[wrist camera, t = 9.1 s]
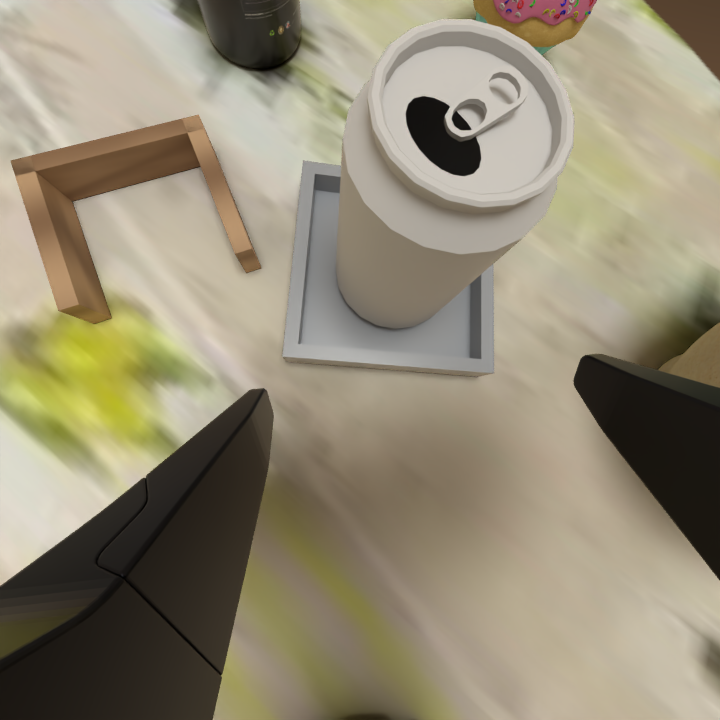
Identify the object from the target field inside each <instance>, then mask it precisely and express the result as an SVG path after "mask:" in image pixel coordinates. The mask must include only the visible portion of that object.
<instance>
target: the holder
mask: <svg viewBox="0 0 720 720" xmlns="http://www.w3.org/2000/svg"><path fill="white" fill-rule="evenodd" d="M11 164H12V167H13V170H14V173H15V176H16V180H17V183H18V186H19V189H20V192H21V195H22V198H23V201H24V205H25V208H26V211H27V214H28V217H29V220H30V223H31V226H32V230H33V233H34V236H35V239H36V242H37V245H38V248H39V251H40V255H41V258H42V261H43V264H44V267H45V270H46V273H47V276H48V280H49V283H50V286H51V289H52V292H53V295H54V298H55V301H56V305H57V308H58V311H60V312H63V313H66V314H69V315H72V316H74V317H77V318H80V319H83V320H85V321H88V322H91V323H94V324H95V323H98V322H101V321H104V320H107V319H110V318H111V315H110V312H109V309H108V306H107V303H106V300H105V297H104V294H103V291H102V288H101V285H100V282H99V279H98V276H97V273H96V270H95V268H94V265H93V262H92V259H91V256H90V253H89V250H88V247H87V244H86V241H85V238H84V235H83V232H82V229H81V226H80V223H79V220H78V217H77V214H76V211H75V208H74V206H73V203H72V201H75V200H78V199H82V198H86V197H89V196H93V195H97V194H100V193H104V192H108V191H111V190H115V189H119V188H122V187H126V186H130V185H133V184H137V183H141V182H144V181H148V180H152V179H156V178H159V177H163V176H167V175H170V174H174V173H178V172H181V171H185V170H189V169H192V168H196V167H200V166H201V168H202V171H203V173H204V176H205V179H206V181H207V184H208V186H209V189H210V191H211V194H212V196H213V199H214V201H215V204H216V207H217V209H218V212H219V214H220V217H221V219H222V222H223V224H224V227H225V229H226V232H227V235H228V237H229V240H230V242H231V245H232V247H233V250H234V252H235V255H236V256H237V258H238V260H239V261H240V263H241V265H242V266H243V268H244V270H245V271H246V273H248V272H250V271H253V270H256V269H259V268H261V266H260V263H259V261H258V258H257V256H256V253H255V251H254V248H253V246H252V243H251V241H250V238H249V236H248V234H247V231H246V229H245V226H244V224H243V221H242V219H241V216H240V214H239V211H238V209H237V206H236V204H235V201H234V199H233V196H232V194H231V191H230V189H229V186H228V184H227V181H226V179H225V176H224V174H223V171H222V169H221V166H220V164H219V161H218V159H217V156H216V154H215V151H214V149H213V146H212V144H211V142H210V140H209V137H208V135H207V133H206V130H205V128H204V126H203V124H202V121H201V119H200V117H199V115H195V116H191V117H187V118H183V119H179V120H175V121H171V122H167V123H163V124H158V125H154V126H150V127H146V128H142V129H138V130H134V131H130V132H126V133H122V134H118V135H114V136H109V137H105V138H101V139H97V140H93V141H89V142H85V143H81V144H77V145H73V146H69V147H64V148H60V149H56V150H52V151H48V152H44V153H40V154H36V155H32V156H28V157H24V158H20V159H15V160H11Z"/></svg>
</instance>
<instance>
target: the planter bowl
mask: <svg viewBox="0 0 720 720" xmlns="http://www.w3.org/2000/svg"><path fill="white" fill-rule="evenodd" d="M658 370H659V371H663V372H666V373H670V374H673V375H677V376H680V377H684V378H687V379H691V380H694V381H698V382H701V383H705V384H708V385H712V386H715V387H719V388H720V323H718V324H717V325H715V326H714V327H712V328H711V329H710V330H709V331H707V332H706V333H705V334H704V335H702V336H701V337H700V338H699V339H698V340H697V341H696V342H694V343H693V344H692V345H691V346H690V347H689V348H688V349H687V351H686V352H685V353H684V354H682V355H679V356H676V357H674V358H672V359H670V360H669V361H667V362H666V363H665V364H663V365H662V366H661V367H660V368H659V369H658Z"/></svg>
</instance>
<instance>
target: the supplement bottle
mask: <svg viewBox="0 0 720 720" xmlns="http://www.w3.org/2000/svg"><path fill="white" fill-rule="evenodd" d="M197 3H198V6H199V9H200V12H201V15H202V18H203V21H204V24H205V27H206V30H207V32H208V35H209V37H210V39H211V41H212V42H213V44H214V45H215V47H216V48H217V49H218V50H219V51H220V52H221V53H222V54H223V55H224V56H225V57H227V58H228V59H229V60H231V61H233V62H235V63H237V64H239V65H241V66H244V67H248V68H255V69H264V68H271V67H274V66H277V65H279V64H281V63H283V62H285V61H286V60H287V59H288V58H290V57H291V55H292V54H293V53H294V52H295V50H296V48H297V46H298V44H299V41H300V36H301V14H300V0H197Z"/></svg>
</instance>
